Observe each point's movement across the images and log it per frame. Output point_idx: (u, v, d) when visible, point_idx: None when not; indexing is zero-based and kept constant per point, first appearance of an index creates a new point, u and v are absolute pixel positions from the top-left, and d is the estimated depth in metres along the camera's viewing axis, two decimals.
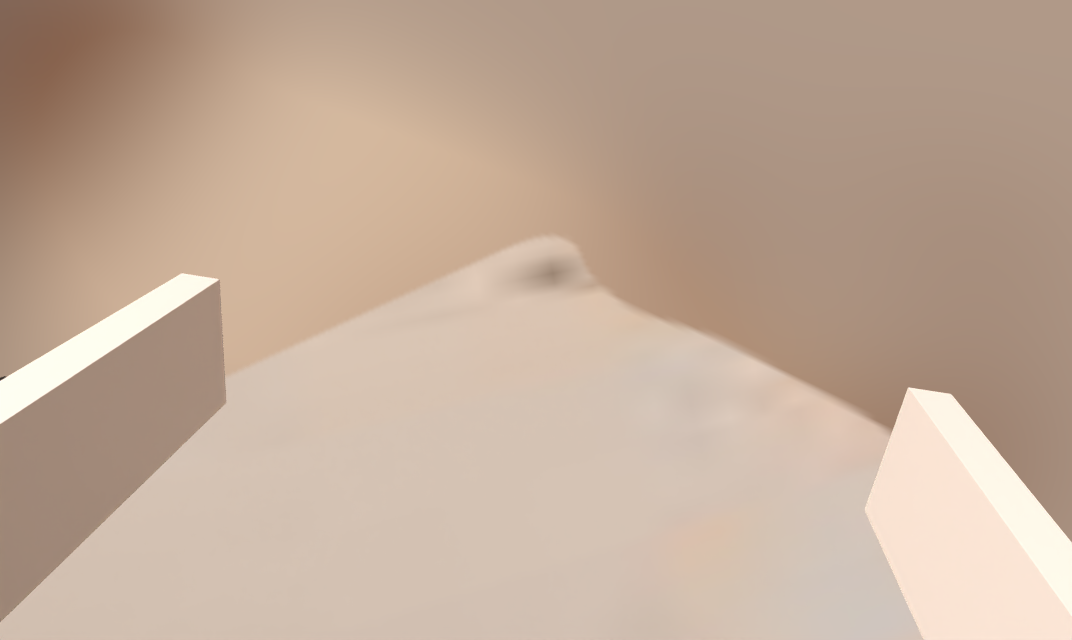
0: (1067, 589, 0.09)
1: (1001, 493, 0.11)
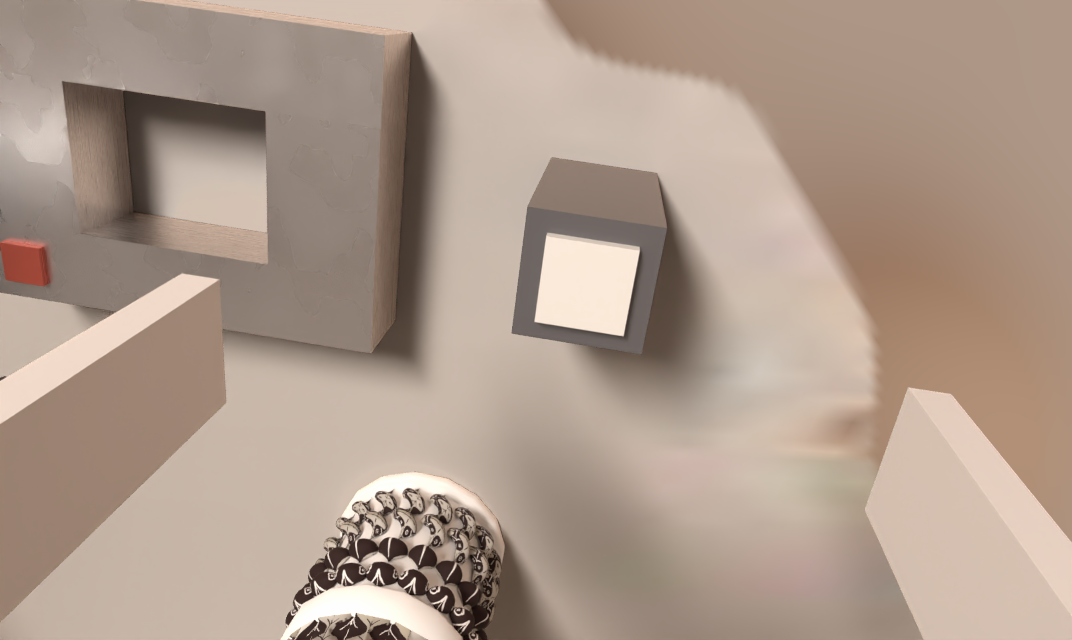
0: (1067, 589, 0.09)
1: (1001, 493, 0.11)
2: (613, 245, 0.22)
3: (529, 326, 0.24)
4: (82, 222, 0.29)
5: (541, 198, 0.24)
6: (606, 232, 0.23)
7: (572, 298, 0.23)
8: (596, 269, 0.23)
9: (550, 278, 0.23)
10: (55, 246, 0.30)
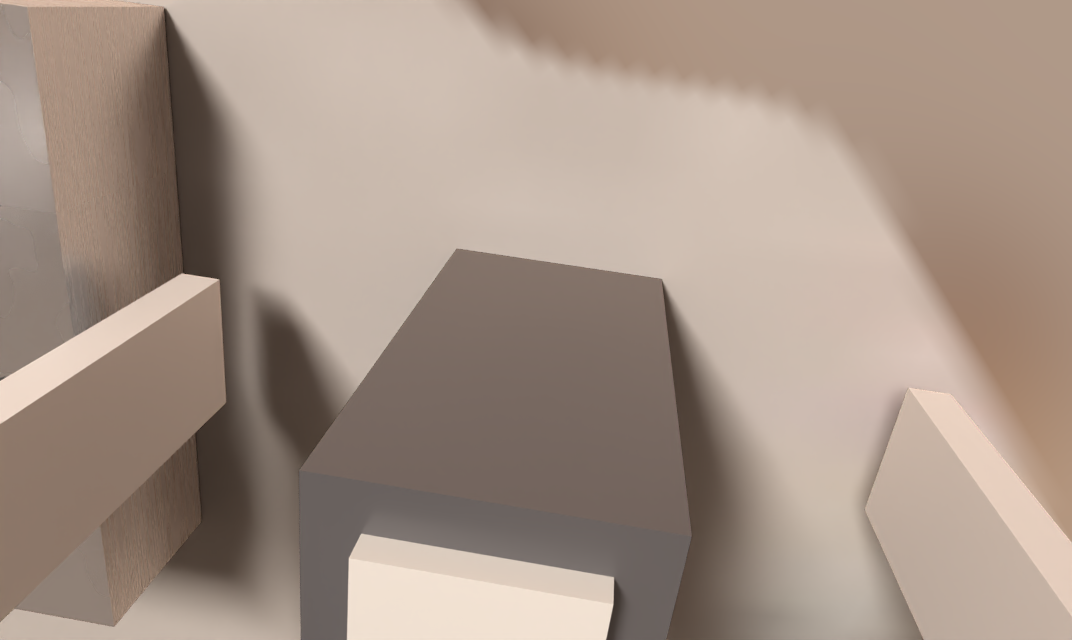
0: (1067, 589, 0.09)
1: (1001, 493, 0.11)
2: (540, 580, 0.08)
3: None
4: None
5: (363, 416, 0.09)
6: (521, 539, 0.08)
7: None
8: None
9: None
10: None
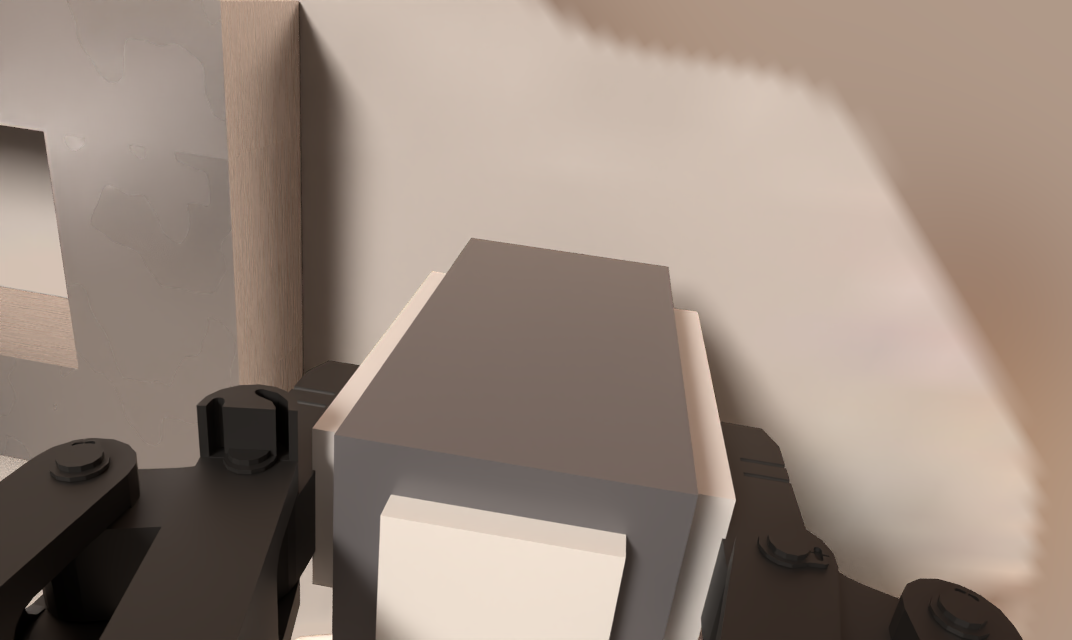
0: None
1: (684, 375, 0.13)
2: (557, 536, 0.09)
3: None
4: None
5: (391, 388, 0.10)
6: (540, 499, 0.09)
7: None
8: (515, 593, 0.09)
9: (401, 607, 0.09)
10: None
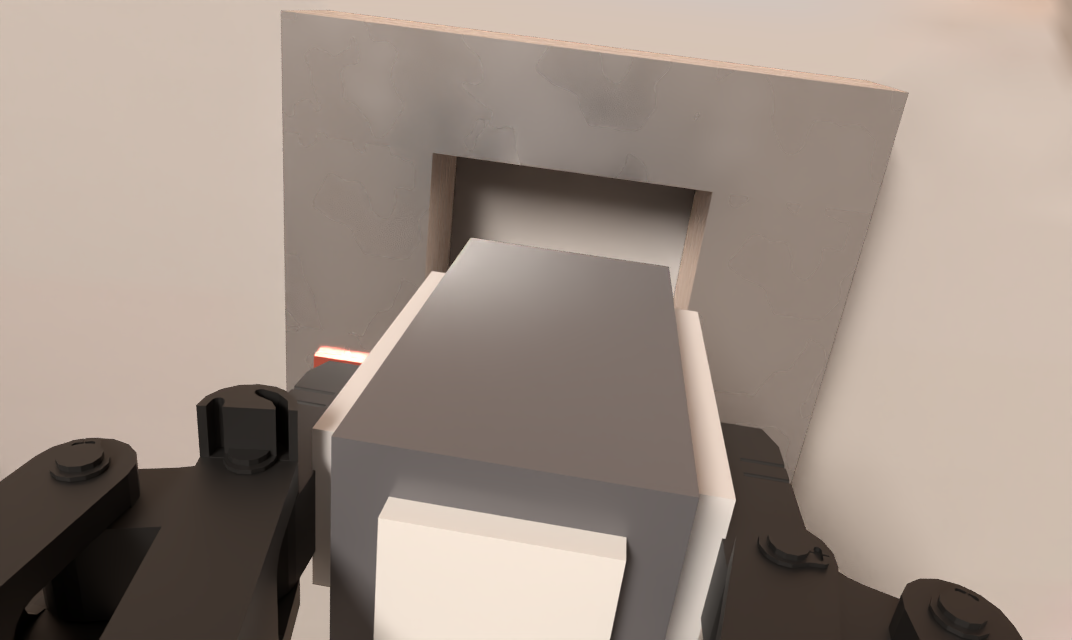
0: None
1: (684, 375, 0.13)
2: (556, 539, 0.08)
3: None
4: None
5: (388, 389, 0.10)
6: (539, 502, 0.09)
7: None
8: (514, 596, 0.09)
9: (399, 610, 0.09)
10: None
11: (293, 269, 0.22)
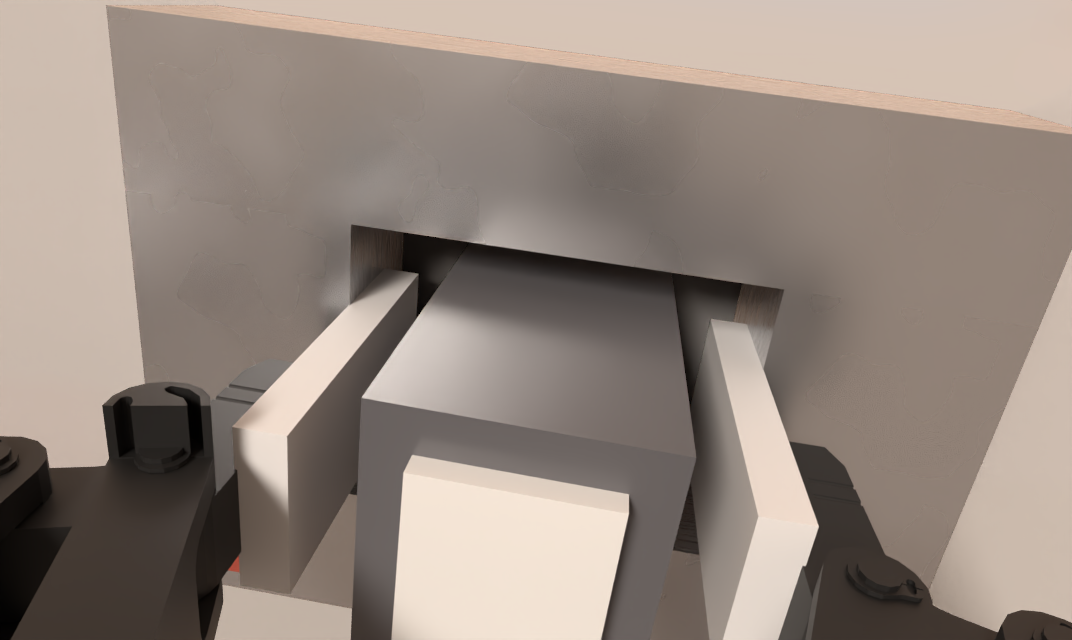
0: (755, 454, 0.11)
1: (744, 392, 0.13)
2: (565, 494, 0.09)
3: (387, 635, 0.11)
4: None
5: (411, 359, 0.11)
6: (549, 460, 0.09)
7: (473, 601, 0.10)
8: (525, 547, 0.09)
9: (420, 559, 0.10)
10: None
11: None
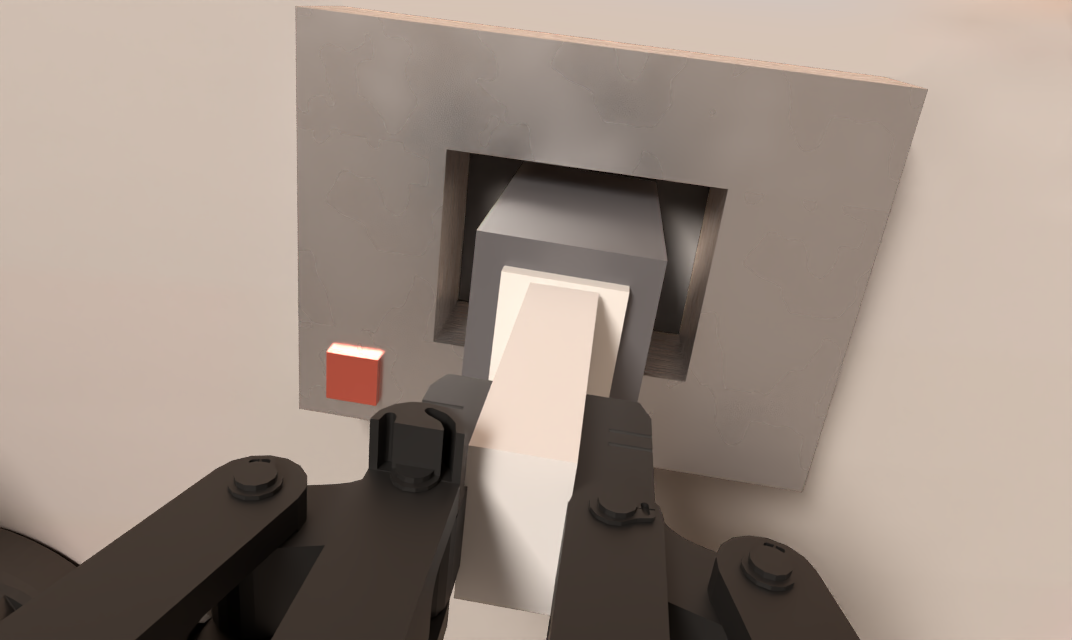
0: (546, 402, 0.11)
1: (564, 351, 0.13)
2: (593, 284, 0.16)
3: None
4: (436, 326, 0.23)
5: (498, 217, 0.18)
6: (584, 266, 0.16)
7: None
8: None
9: (508, 327, 0.17)
10: (397, 356, 0.23)
11: (306, 265, 0.22)
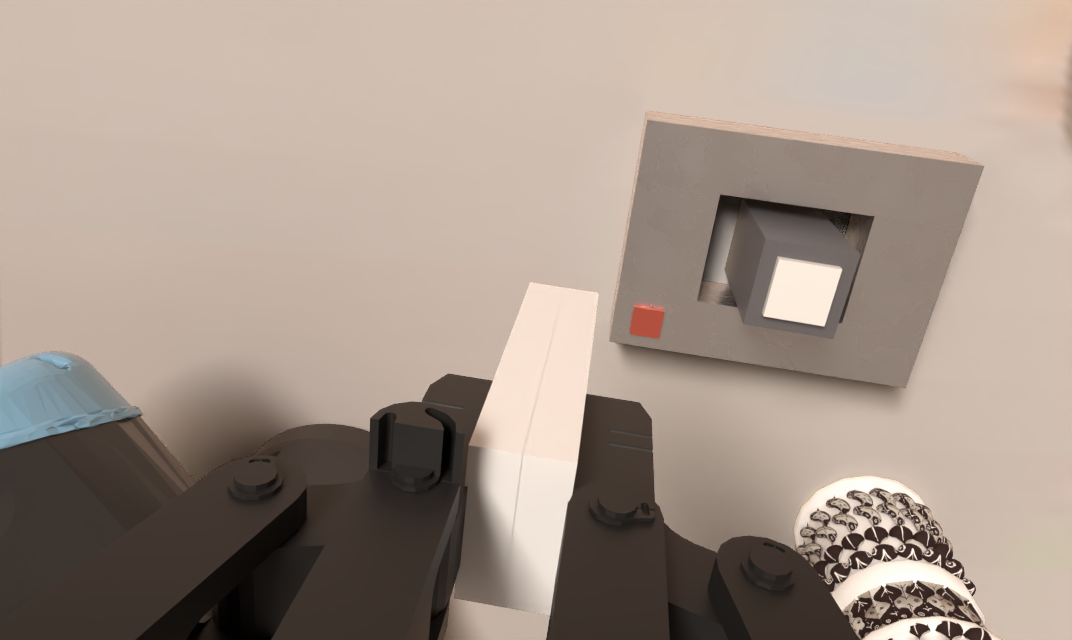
0: (546, 402, 0.11)
1: (564, 351, 0.13)
2: (823, 265, 0.34)
3: (756, 319, 0.35)
4: None
5: (767, 232, 0.35)
6: (818, 257, 0.34)
7: (791, 300, 0.34)
8: (811, 281, 0.34)
9: (778, 287, 0.34)
10: (674, 309, 0.40)
11: (628, 257, 0.39)
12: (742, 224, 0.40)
